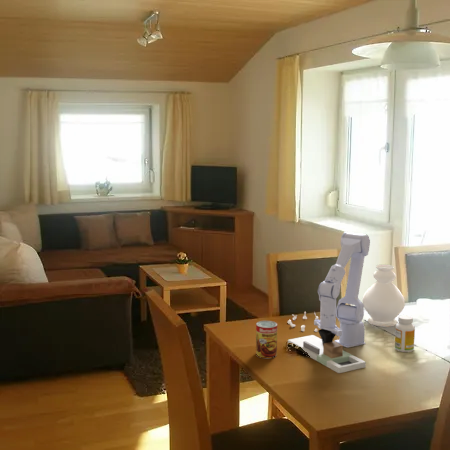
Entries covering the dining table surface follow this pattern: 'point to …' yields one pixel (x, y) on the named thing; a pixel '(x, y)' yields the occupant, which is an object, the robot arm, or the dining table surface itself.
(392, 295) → the decorative vase
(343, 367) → the deck
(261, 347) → the canned food
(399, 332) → the supplement bottle
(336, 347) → the block
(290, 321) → the game piece set
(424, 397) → the dining table surface
